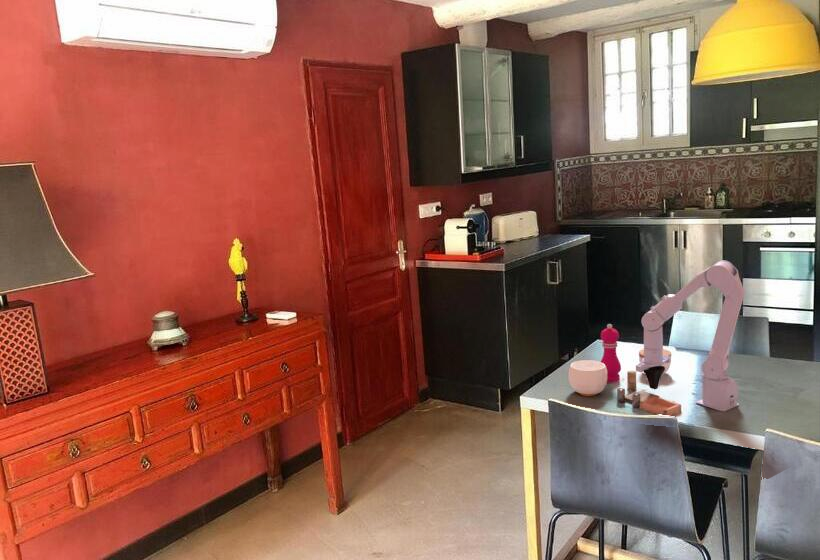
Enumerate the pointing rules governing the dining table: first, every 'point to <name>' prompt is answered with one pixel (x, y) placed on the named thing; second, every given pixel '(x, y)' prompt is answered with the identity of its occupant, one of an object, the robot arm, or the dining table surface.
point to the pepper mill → (610, 354)
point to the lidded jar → (665, 352)
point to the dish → (660, 406)
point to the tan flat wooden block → (643, 396)
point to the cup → (588, 377)
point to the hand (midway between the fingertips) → (653, 388)
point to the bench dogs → (635, 398)
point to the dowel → (631, 380)
